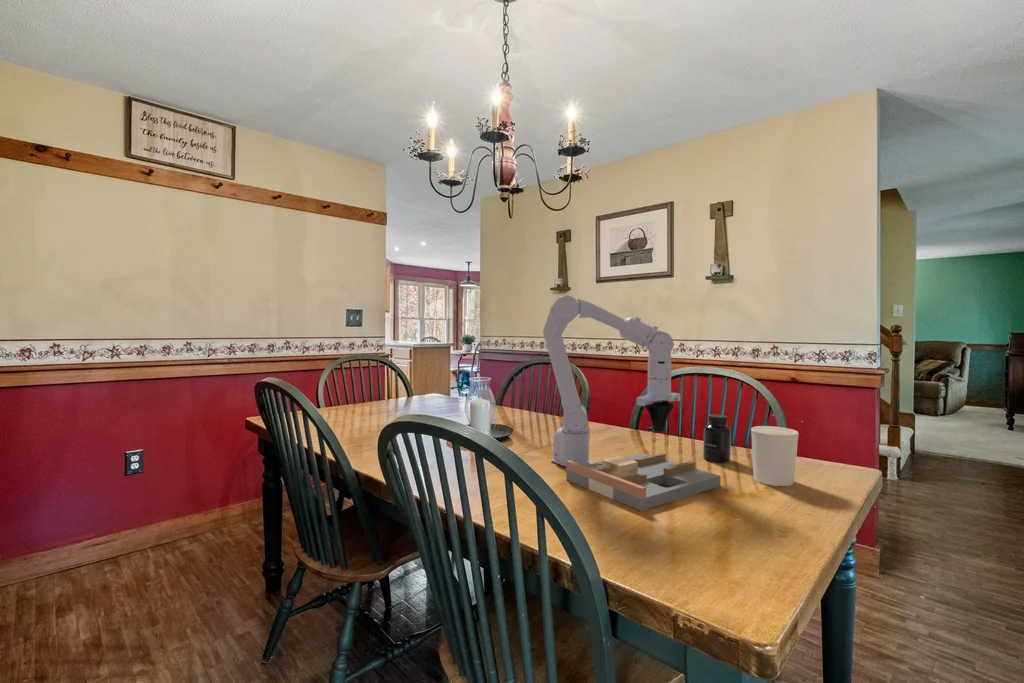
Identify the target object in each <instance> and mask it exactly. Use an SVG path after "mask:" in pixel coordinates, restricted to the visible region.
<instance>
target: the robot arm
mask: <svg viewBox="0 0 1024 683" xmlns="http://www.w3.org/2000/svg"><path fill="white" fill-rule="evenodd" d="M578 315H579V316H578ZM577 316H578V318H579V319H583V318H584V319H588V318H590V319H592V320H595V321H597V322H599V323H602V324H605V325H606V326H609V327H611V328H613V329H616V330H618V332H619V335H620V337H621V338H623V339H624V340H627V341H629V342H631V343H633V344H635V345H638V346H639V347H641V348H645V347H646V348H647V350H648V360H647V394H644V395H641V396H638V397H637V396H636V406H640V407H645V408H646V410H647V412H648V414H649V416H650V419H651V423H652V428H653V432H658V433H663V432H665V427H666V423H667V420H668V418H669V415H670V414H671V411H672V410H673V409H674V404H673V403H671V402H681V393H679V392H678V393H677V392H672V350H673V349H674V347H675V342H674V340H673V337H672V336H671V335H670V334H669V332H665V331H661V330H658V329H659V327H658V326H656V325H653V326H651V325H650V324H647V323H645V322H643V321H642V320H641V319H642V318H640V317H638V316H636V317H635V318H634V317H632V316H630V317H627V318H622V317H620V316H618V315H616V314H615V313H612V312H610V311H608V310H606V309H605V308H602V307H601V306H599V305H597V304H594V303H593V302H589V301H586V300H583V299H580V298H577V299H576V298H574V297H573V296H571V295H562V296H560V297H558V298H557V299H556V300H555V302H554V303H553V304H552V306H551V307H550V309H549V313H548V315H547V318H546V321H545V324H544V327H543V331H542V332H543V337H544V341H545V344H546V348H547V352H548V356H549V358H550V363H551V366H552V371H553V374H554V378H555V381H556V385H557V389H558V392H559V396H560V401H561V406H562V410H563V414H562V415H563V416H562V423H563V426H561V427H559V428H558V429H557V430H556V431H555V432H554V435H553V442H552V443H553V451H552V452H553V453H552V454H553V455H552V456H553V457H552V459H550V462H552V463H555V464H557V465H559V466H560V465H561V466H563V467H565V468H567V461H569V460H571V461H574V462H577V463H580V464H582V465H589V464H593V463H596V462H594V461H592V460H590V428H588V423H589V422H588V421H589V419H588V411H587V409H586V407H585V406H584V404H583V403H582V402H581V399H580V396H579V393H578V390H577V387H576V383H575V382H576V381H575V378H574V374H573V371H572V367H571V364H570V361H569V357H568V353H567V349H566V347H565V343H564V339H563V334H564V331H565V330H566V328H567V327H568V324H570V323H571V322H572V321H573V320H574V319H575V318H576V317H577Z"/></svg>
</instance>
